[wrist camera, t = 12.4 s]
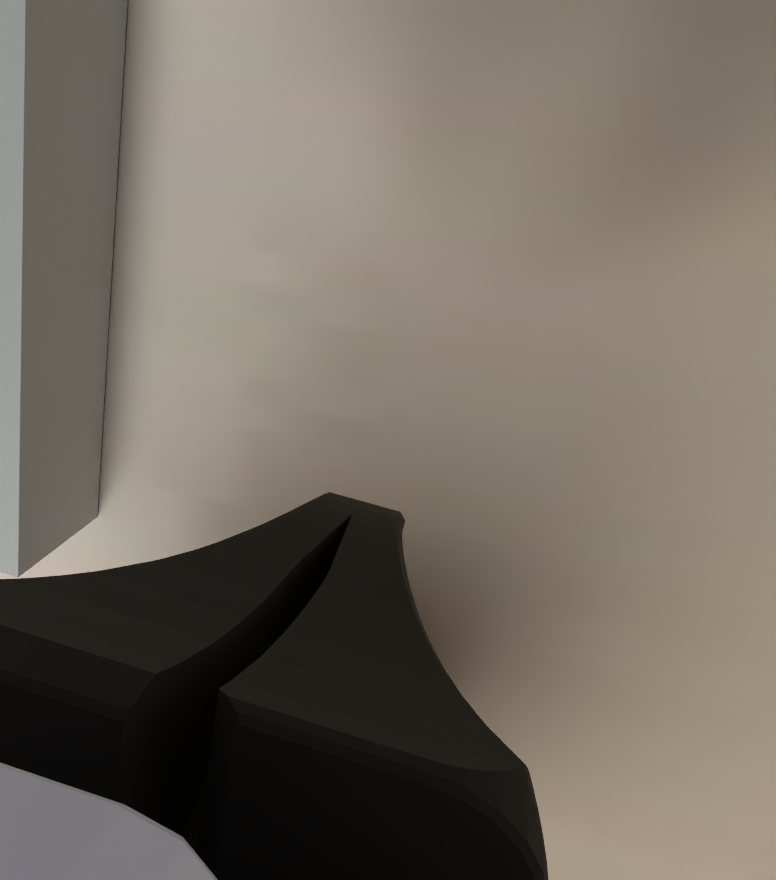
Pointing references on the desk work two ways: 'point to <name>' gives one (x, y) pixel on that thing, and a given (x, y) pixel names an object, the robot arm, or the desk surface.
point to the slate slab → (55, 263)
